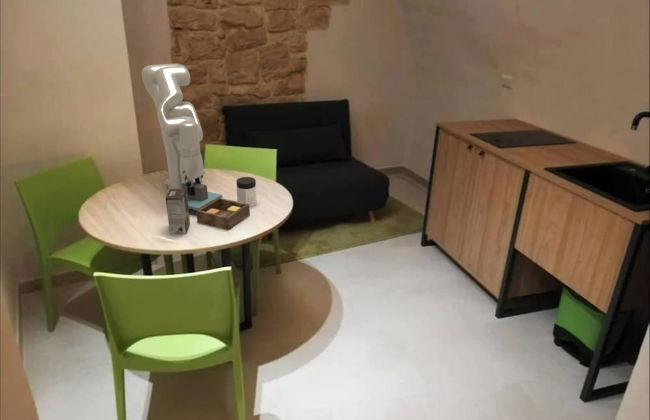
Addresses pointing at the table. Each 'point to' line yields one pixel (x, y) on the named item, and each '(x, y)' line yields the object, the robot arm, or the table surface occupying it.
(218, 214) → the terracotta block
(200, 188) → the lid
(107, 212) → the table surface
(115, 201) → the table surface
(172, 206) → the coffee box
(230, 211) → the mustard block
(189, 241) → the table surface
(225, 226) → the box
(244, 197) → the jar
